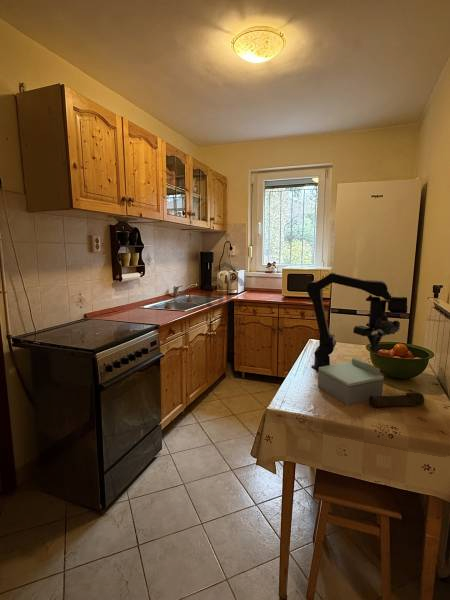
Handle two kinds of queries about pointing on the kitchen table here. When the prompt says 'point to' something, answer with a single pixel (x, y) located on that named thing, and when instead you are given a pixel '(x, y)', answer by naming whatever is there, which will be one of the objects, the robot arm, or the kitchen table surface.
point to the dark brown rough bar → (397, 400)
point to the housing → (349, 389)
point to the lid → (353, 372)
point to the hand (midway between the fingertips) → (374, 349)
